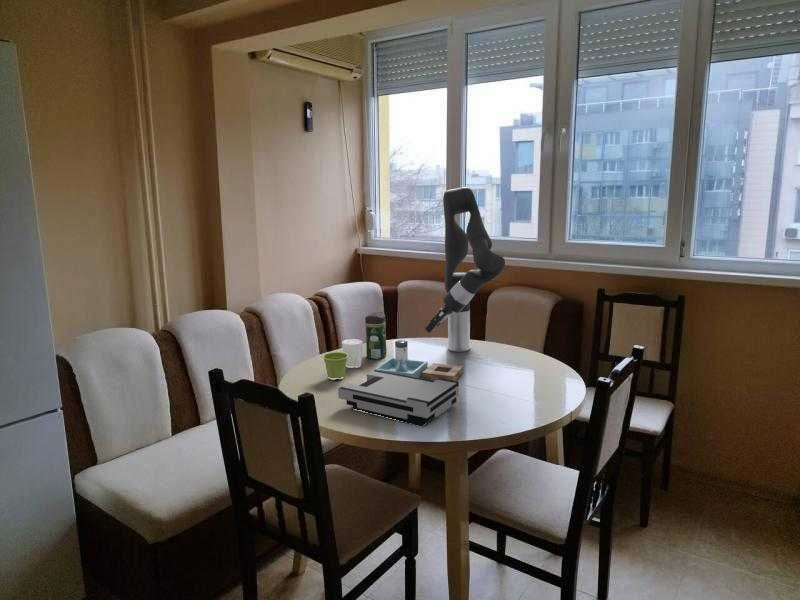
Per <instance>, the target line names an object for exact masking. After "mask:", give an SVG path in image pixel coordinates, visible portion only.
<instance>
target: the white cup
mask: <svg viewBox="0 0 800 600" xmlns="http://www.w3.org/2000/svg"><path fill="white" fill-rule="evenodd" d="M341 346H342V353H346V354H348V358H347V361H346V365H347V366H359V365H361V364H362V365H363V363H362V362H363V361H362V360H363V340H361V339H357V338H350V339H344V340H342V342H341Z"/></svg>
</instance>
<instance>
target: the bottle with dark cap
mask: <svg viewBox="0 0 800 600" xmlns="http://www.w3.org/2000/svg"><path fill="white" fill-rule="evenodd" d="M408 343H409V342H408V340H401V339H400V340H396V341H395V342H394V347H395V348H394V349H395V350H394V354H395V357H394V358H395V360H396V371H400V372H408V360H409V359H408Z"/></svg>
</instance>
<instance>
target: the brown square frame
mask: <svg viewBox="0 0 800 600" xmlns="http://www.w3.org/2000/svg"><path fill="white" fill-rule="evenodd" d="M463 374H464V366H463V365H455V364H454V365H453V364H443V363H435V362H433V363H431V364H430V365H429V366H428V368H427V369H426V370H424V371H423V372H422V377H421V379H427V380H432V381H436V380H438V379H439V378H441V379H446V380H452V381H457V380H458V379H459V378H460V377H461V376H462V375H463Z"/></svg>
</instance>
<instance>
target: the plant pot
mask: <svg viewBox="0 0 800 600" xmlns="http://www.w3.org/2000/svg"><path fill="white" fill-rule="evenodd" d="M347 358H348V354H346V353H343V351H341V352H340V351H334V352H333V351H332V352H328V353H325V354H323V355H322V359H323V361H324V363H325V369H326V374H327V378H328V377H330V378H341V377H344V376H345V377H346V369H347V368H346V361H347ZM345 377H344V378H345Z"/></svg>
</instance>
